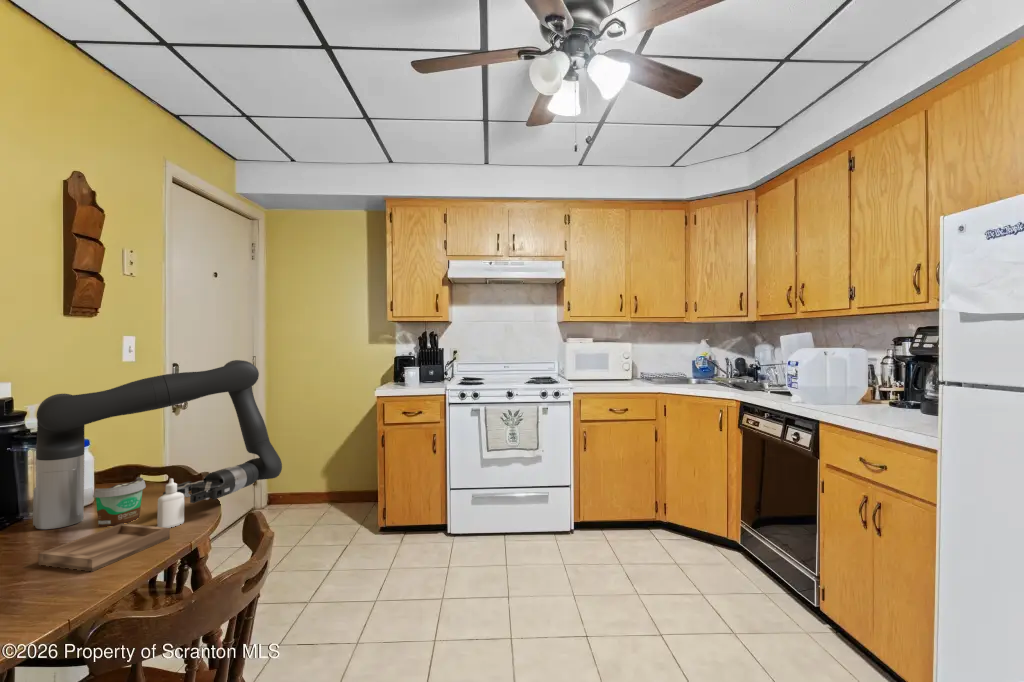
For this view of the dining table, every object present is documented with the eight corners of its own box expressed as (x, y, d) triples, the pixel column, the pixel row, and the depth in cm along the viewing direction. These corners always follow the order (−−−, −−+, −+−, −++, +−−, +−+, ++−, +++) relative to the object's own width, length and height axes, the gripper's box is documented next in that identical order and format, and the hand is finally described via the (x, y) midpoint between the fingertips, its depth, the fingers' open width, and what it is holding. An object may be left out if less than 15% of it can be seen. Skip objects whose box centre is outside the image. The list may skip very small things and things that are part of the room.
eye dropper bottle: (183, 526, 127) (184, 479, 127) (156, 530, 124) (157, 482, 125) (184, 521, 131) (184, 475, 131) (158, 525, 128) (158, 478, 128)
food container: (112, 531, 124) (113, 490, 124) (92, 529, 125) (93, 489, 125) (157, 514, 136) (157, 477, 136) (138, 512, 137) (138, 476, 137)
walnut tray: (38, 565, 105) (38, 553, 105) (121, 533, 122) (122, 523, 122) (92, 571, 102) (92, 559, 102) (169, 538, 119) (169, 528, 119)
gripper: (204, 467, 147) (154, 481, 131) (246, 470, 144) (201, 485, 128) (204, 492, 147) (154, 510, 131) (246, 496, 144) (200, 514, 128)
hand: (177, 498), depth 130 cm, fingers open, 8 cm apart
